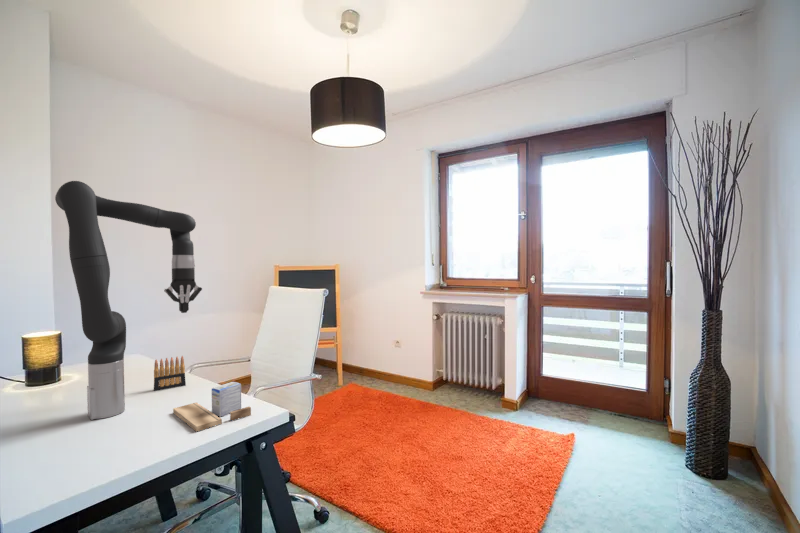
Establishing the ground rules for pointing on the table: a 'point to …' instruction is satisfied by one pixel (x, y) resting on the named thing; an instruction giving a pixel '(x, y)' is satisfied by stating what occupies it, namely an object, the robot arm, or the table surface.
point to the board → (197, 416)
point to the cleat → (240, 413)
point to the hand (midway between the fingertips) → (183, 312)
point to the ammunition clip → (172, 379)
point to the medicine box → (226, 398)
